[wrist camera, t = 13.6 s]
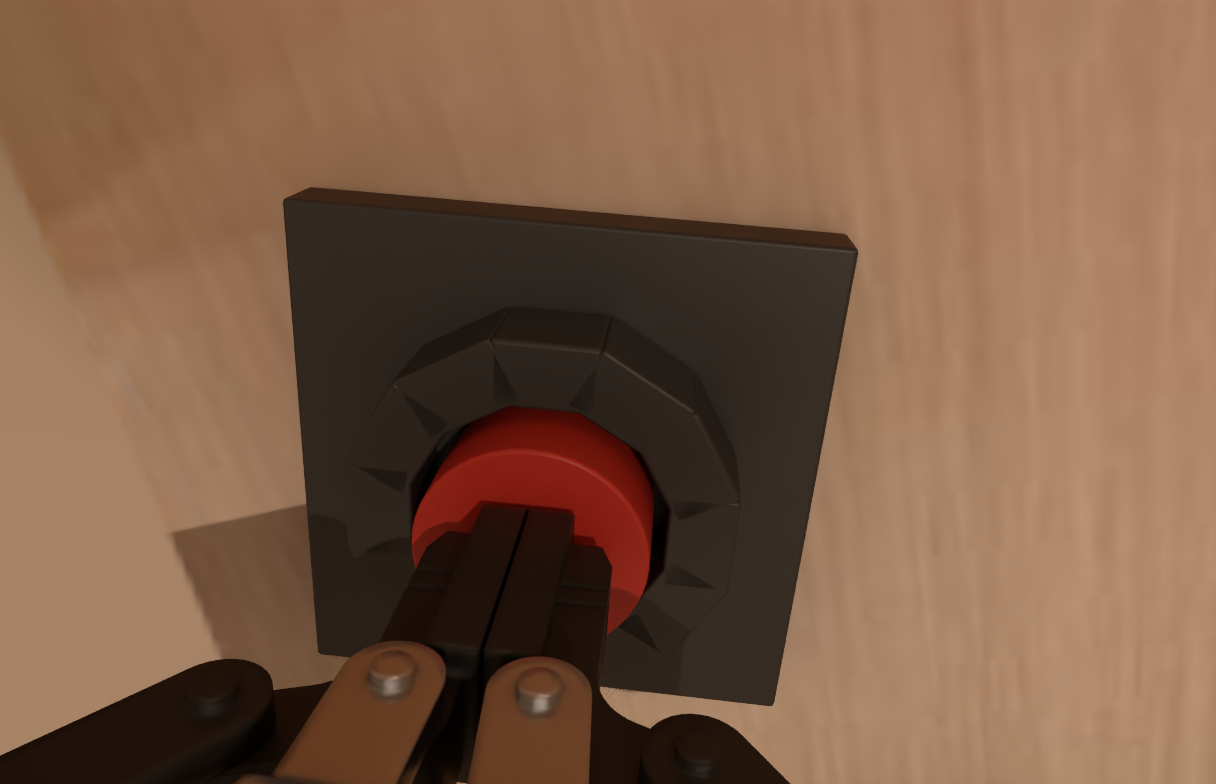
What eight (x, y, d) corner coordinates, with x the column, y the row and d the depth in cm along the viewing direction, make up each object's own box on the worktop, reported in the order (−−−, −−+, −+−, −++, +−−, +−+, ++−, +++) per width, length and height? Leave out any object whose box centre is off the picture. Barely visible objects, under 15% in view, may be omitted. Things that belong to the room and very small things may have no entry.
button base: (337, 620, 20) (282, 714, 17) (308, 186, 16) (230, 220, 14) (769, 669, 20) (782, 775, 17) (847, 233, 16) (881, 278, 13)
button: (442, 574, 17) (412, 641, 15) (441, 387, 16) (407, 437, 14) (644, 596, 17) (638, 668, 15) (664, 410, 15) (660, 463, 14)
